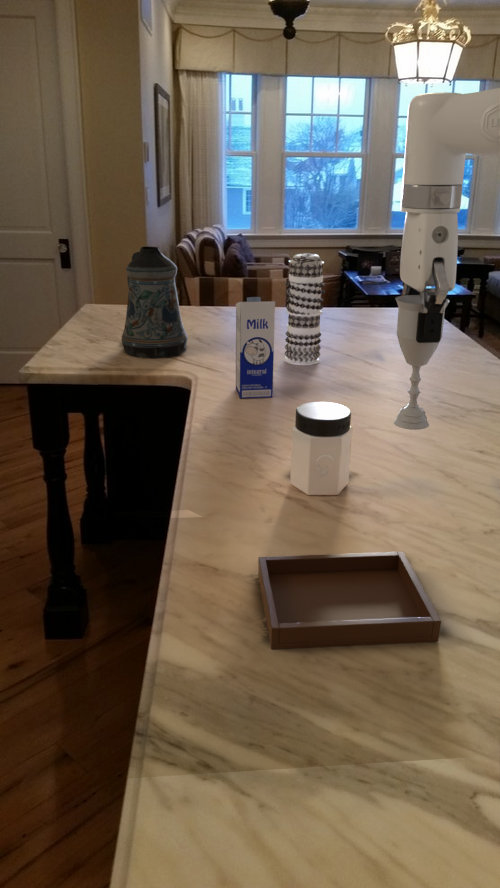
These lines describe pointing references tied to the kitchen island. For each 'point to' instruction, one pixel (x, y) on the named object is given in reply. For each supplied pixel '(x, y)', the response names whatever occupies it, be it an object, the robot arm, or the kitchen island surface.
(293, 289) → the decorative candle
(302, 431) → the jar
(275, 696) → the kitchen island surface
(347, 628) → the tray
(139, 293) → the beer stein
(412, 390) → the chalice
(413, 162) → the robot arm
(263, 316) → the milk carton
